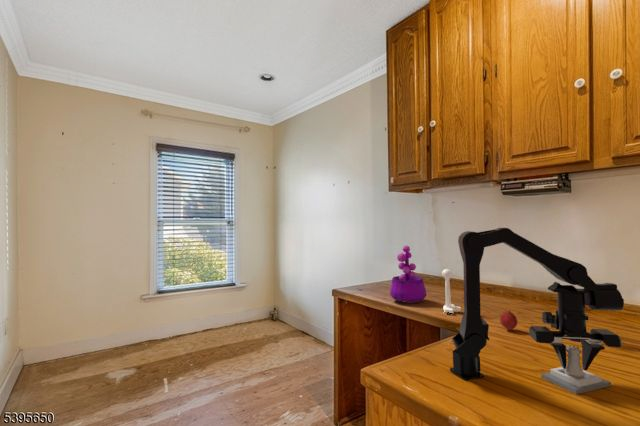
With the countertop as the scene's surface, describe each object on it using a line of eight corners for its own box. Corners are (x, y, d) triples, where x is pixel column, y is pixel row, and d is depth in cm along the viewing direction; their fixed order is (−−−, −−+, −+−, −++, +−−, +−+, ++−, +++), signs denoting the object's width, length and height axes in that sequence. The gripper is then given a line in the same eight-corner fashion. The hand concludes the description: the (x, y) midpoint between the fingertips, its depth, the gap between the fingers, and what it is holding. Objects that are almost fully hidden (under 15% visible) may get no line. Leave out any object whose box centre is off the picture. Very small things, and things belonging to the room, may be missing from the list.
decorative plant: (408, 308, 161) (406, 247, 162) (383, 300, 177) (381, 245, 178) (434, 302, 171) (432, 245, 172) (408, 296, 187) (406, 243, 188)
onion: (503, 326, 130) (502, 306, 130) (519, 330, 125) (518, 309, 126) (498, 330, 125) (497, 309, 126) (515, 333, 121) (514, 312, 122)
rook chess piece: (569, 381, 83) (567, 349, 84) (560, 373, 88) (559, 343, 88) (589, 382, 82) (587, 350, 83) (579, 374, 87) (578, 344, 87)
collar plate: (575, 394, 79) (575, 385, 79) (541, 377, 88) (541, 369, 88) (611, 385, 83) (610, 377, 83) (574, 370, 91) (574, 362, 91)
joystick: (444, 308, 159) (442, 267, 160) (461, 309, 156) (459, 267, 156) (442, 314, 149) (440, 270, 150) (460, 315, 146) (458, 271, 146)
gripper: (595, 302, 91) (598, 359, 91) (520, 300, 96) (523, 354, 95) (621, 313, 80) (624, 377, 80) (535, 310, 85) (538, 371, 85)
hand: (574, 369), depth 85 cm, fingers open, 4 cm apart
